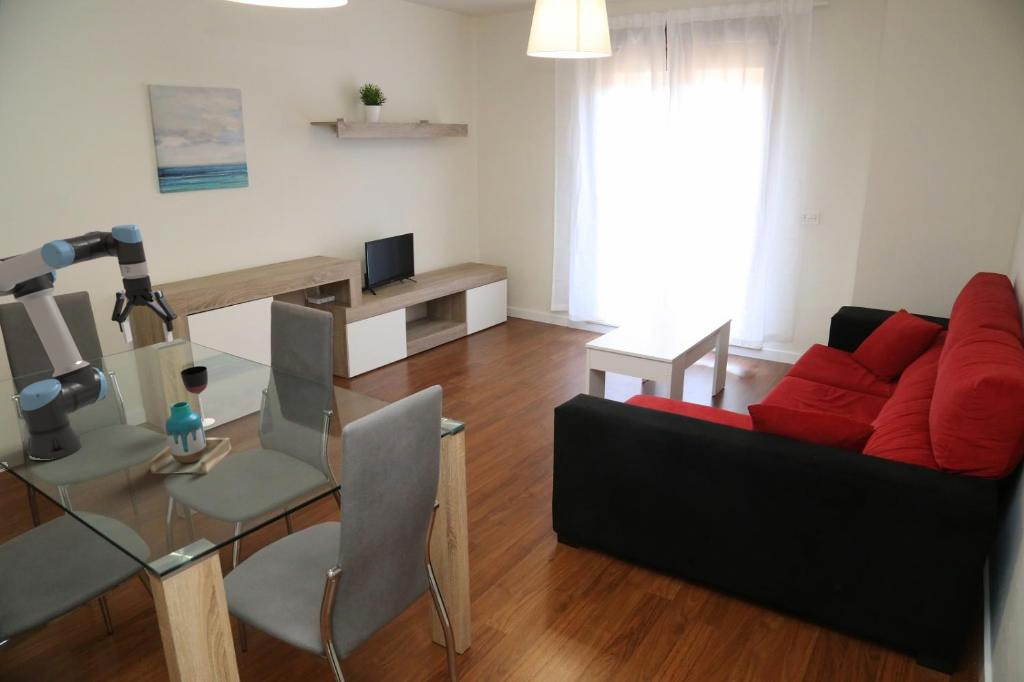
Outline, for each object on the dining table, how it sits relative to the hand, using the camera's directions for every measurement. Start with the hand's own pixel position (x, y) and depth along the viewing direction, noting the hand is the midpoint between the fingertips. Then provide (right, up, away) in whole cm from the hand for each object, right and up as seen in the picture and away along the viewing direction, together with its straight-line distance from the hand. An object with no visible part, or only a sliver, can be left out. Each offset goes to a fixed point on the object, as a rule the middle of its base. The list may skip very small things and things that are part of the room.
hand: (149, 341), depth 221 cm
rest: (+13, -38, 0) cm, 40 cm away
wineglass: (+5, -29, +29) cm, 41 cm away
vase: (+13, -38, 0) cm, 40 cm away
